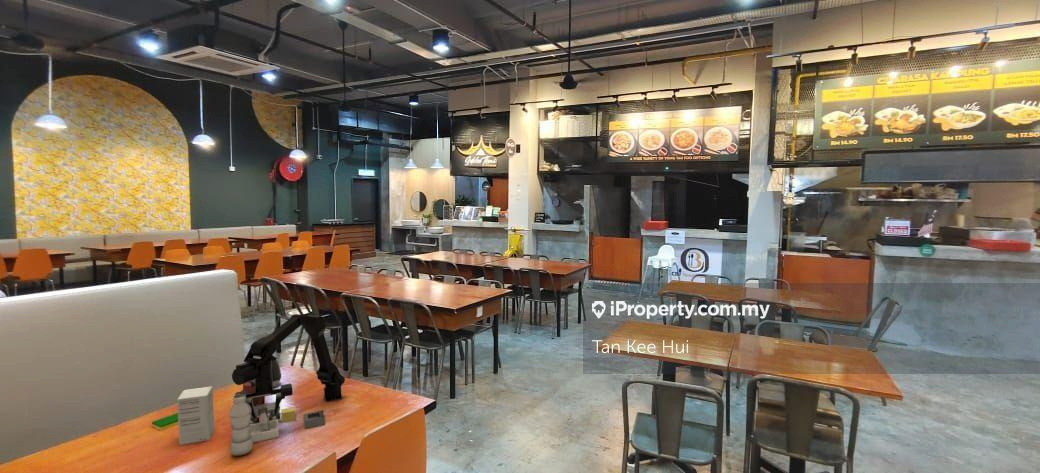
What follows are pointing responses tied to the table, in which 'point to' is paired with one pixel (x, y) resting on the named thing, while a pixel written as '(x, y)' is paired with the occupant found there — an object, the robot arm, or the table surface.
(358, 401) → the table surface
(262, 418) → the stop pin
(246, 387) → the mechanical component
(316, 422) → the pin bracket
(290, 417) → the block
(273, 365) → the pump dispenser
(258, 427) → the tray
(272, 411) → the trolley
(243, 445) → the plastic bottle
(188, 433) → the supplement box
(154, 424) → the dish sponge
